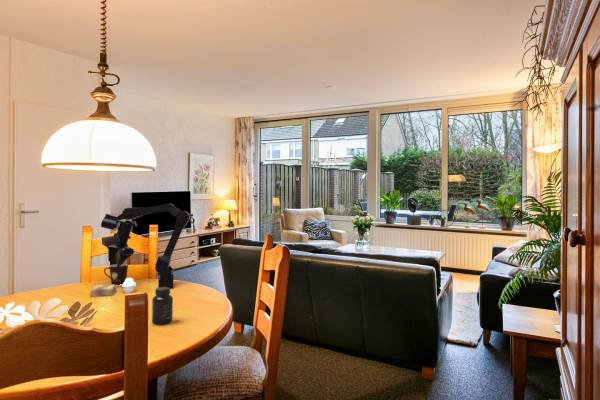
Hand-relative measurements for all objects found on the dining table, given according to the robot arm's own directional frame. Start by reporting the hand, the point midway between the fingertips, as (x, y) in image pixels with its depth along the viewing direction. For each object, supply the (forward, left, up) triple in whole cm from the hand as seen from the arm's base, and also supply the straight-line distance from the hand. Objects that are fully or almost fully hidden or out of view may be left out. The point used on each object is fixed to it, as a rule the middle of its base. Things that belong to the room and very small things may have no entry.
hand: (113, 264), depth 174 cm
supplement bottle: (-23, +58, -13) cm, 64 cm away
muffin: (-8, +8, -13) cm, 17 cm away
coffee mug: (0, -12, -13) cm, 17 cm away
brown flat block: (+3, +8, -12) cm, 15 cm away
